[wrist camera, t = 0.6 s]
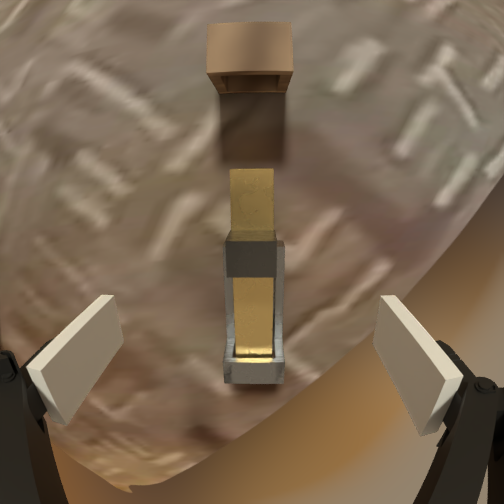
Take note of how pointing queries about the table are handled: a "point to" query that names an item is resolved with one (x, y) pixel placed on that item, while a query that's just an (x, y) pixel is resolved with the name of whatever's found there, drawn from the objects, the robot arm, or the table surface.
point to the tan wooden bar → (252, 259)
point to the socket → (250, 56)
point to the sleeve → (272, 367)
